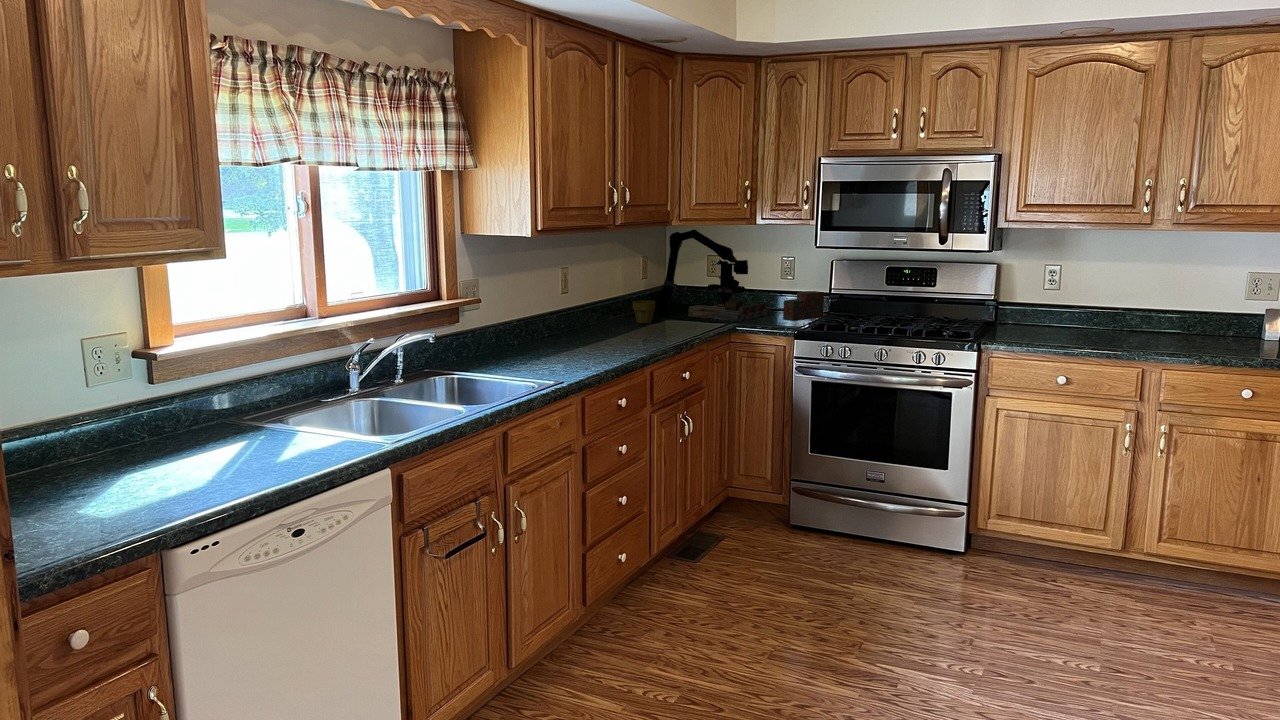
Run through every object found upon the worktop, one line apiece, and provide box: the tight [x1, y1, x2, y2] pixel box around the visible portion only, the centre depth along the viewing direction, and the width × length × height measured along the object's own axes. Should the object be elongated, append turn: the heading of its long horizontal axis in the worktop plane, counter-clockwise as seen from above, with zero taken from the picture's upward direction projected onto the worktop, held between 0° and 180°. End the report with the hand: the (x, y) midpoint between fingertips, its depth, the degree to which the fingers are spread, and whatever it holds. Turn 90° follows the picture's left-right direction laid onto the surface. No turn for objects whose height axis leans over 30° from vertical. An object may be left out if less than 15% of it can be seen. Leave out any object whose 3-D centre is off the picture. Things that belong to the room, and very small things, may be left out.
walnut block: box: [725, 300, 743, 311], centre depth 436 cm, size 6×6×4 cm
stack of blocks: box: [782, 290, 825, 322], centre depth 429 cm, size 21×6×12 cm, turn 128°
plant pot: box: [632, 300, 656, 324], centre depth 415 cm, size 10×10×10 cm
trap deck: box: [687, 302, 770, 322], centre depth 441 cm, size 28×35×6 cm
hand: (725, 306), depth 440 cm, fingers closed
